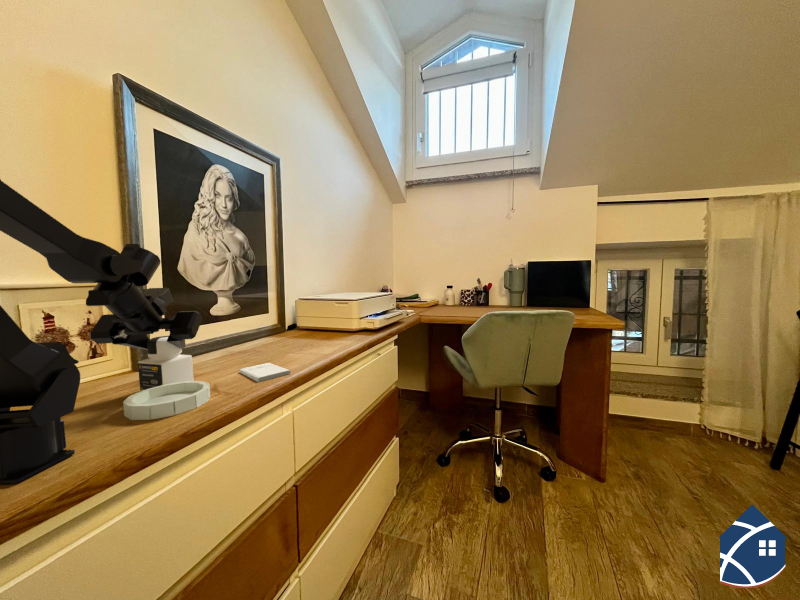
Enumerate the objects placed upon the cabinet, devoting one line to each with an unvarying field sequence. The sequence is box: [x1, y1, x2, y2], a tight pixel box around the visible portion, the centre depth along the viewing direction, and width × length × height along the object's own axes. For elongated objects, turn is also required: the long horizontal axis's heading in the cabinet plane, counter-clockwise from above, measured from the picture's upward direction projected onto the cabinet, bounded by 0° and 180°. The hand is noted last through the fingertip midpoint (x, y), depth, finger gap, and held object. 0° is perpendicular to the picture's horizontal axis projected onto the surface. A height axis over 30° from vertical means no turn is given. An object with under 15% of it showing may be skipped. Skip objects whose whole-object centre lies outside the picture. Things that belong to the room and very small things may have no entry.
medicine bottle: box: [137, 335, 195, 392], centre depth 68 cm, size 7×7×12 cm
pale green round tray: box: [122, 380, 211, 421], centre depth 59 cm, size 13×13×2 cm
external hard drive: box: [239, 362, 291, 383], centre depth 78 cm, size 2×8×12 cm
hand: (168, 348), depth 69 cm, fingers closed on medicine bottle, 6 cm apart
